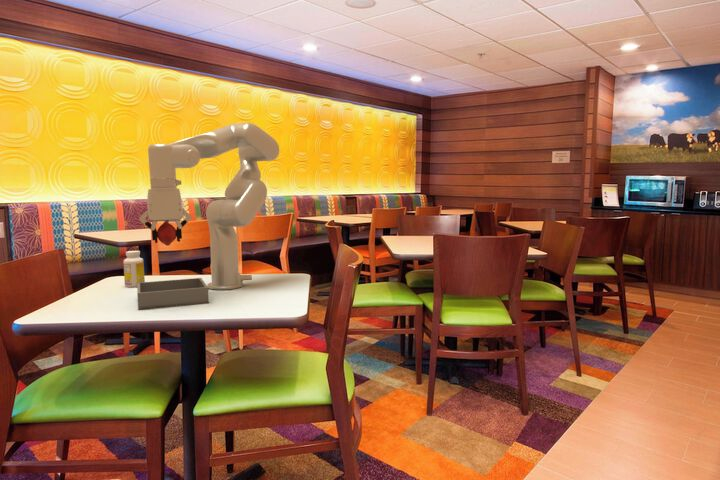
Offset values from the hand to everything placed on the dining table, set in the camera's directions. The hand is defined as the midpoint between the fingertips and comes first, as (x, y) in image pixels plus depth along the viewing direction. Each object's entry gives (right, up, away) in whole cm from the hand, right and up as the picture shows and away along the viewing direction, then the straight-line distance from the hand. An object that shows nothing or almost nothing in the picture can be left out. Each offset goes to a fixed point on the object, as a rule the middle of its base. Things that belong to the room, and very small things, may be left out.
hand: (167, 241), depth 152 cm
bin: (+1, -19, +2) cm, 19 cm away
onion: (0, -2, 0) cm, 2 cm away
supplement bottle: (-22, -17, +25) cm, 38 cm away
